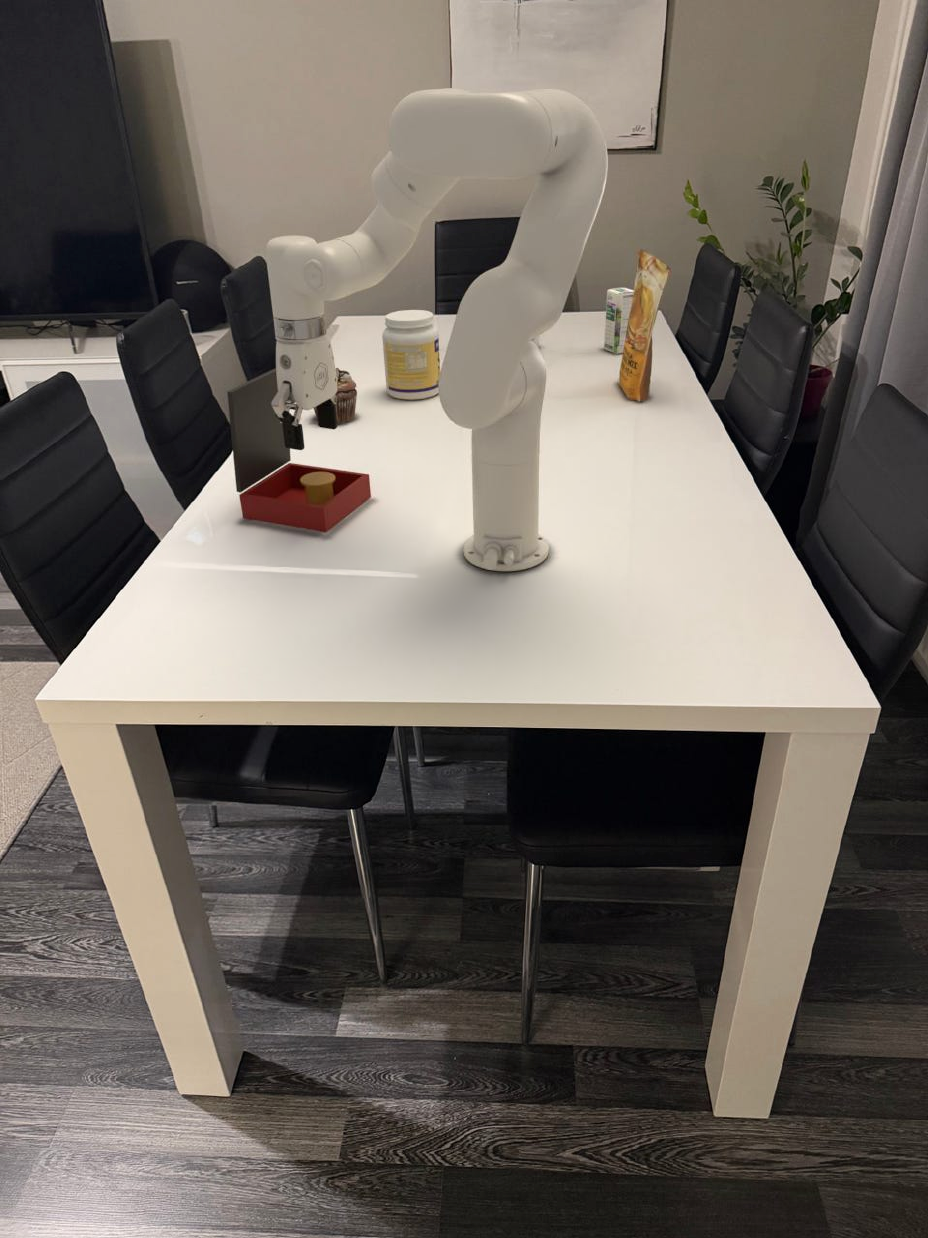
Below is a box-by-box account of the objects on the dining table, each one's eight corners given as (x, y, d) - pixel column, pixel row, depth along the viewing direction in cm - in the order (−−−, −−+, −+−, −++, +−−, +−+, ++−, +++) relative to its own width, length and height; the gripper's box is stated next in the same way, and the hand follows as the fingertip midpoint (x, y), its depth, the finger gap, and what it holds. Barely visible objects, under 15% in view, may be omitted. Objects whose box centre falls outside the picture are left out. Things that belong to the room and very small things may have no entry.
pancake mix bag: (643, 377, 210) (653, 246, 195) (661, 403, 193) (673, 263, 179) (614, 378, 209) (621, 247, 195) (629, 405, 193) (638, 264, 179)
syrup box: (602, 349, 231) (605, 289, 223) (622, 345, 233) (626, 286, 226) (615, 354, 226) (618, 293, 219) (635, 351, 229) (639, 290, 221)
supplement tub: (449, 396, 202) (446, 317, 193) (396, 404, 198) (390, 324, 189) (430, 381, 212) (426, 306, 203) (379, 389, 208) (373, 312, 199)
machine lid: (285, 365, 148) (281, 365, 148) (231, 392, 137) (227, 391, 137) (290, 460, 157) (286, 459, 157) (240, 492, 146) (236, 491, 146)
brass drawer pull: (333, 516, 147) (329, 485, 145) (299, 515, 148) (295, 484, 145) (342, 502, 152) (339, 472, 149) (309, 501, 153) (306, 471, 150)
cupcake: (336, 407, 197) (331, 361, 192) (368, 416, 192) (364, 368, 187) (303, 420, 191) (297, 372, 186) (335, 429, 186) (330, 380, 181)
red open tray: (371, 500, 154) (369, 474, 152) (326, 536, 143) (323, 508, 141) (292, 488, 160) (289, 462, 158) (243, 522, 149) (238, 494, 146)
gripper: (289, 344, 127) (302, 460, 136) (351, 315, 141) (359, 423, 150) (244, 339, 130) (260, 453, 139) (309, 311, 143) (320, 417, 152)
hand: (311, 437), depth 144 cm, fingers open, 9 cm apart
